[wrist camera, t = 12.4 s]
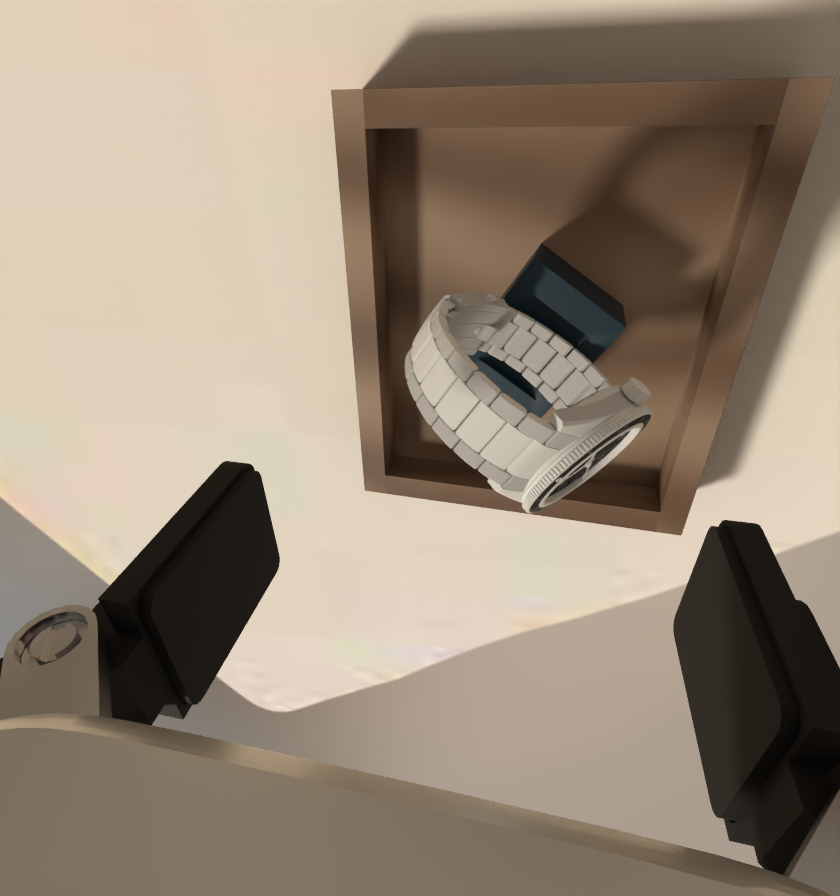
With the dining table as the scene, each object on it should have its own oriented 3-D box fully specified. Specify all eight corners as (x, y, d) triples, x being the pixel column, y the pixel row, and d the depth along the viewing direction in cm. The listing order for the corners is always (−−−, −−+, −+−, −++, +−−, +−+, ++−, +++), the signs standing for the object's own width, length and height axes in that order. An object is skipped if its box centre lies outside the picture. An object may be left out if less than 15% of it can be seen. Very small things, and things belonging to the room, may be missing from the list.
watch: (571, 421, 25) (556, 581, 16) (436, 321, 25) (343, 430, 16) (661, 331, 22) (705, 468, 13) (508, 214, 22) (444, 273, 13)
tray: (358, 92, 21) (330, 90, 19) (799, 82, 18) (835, 76, 16) (381, 460, 31) (364, 490, 29) (671, 497, 28) (681, 535, 25)
